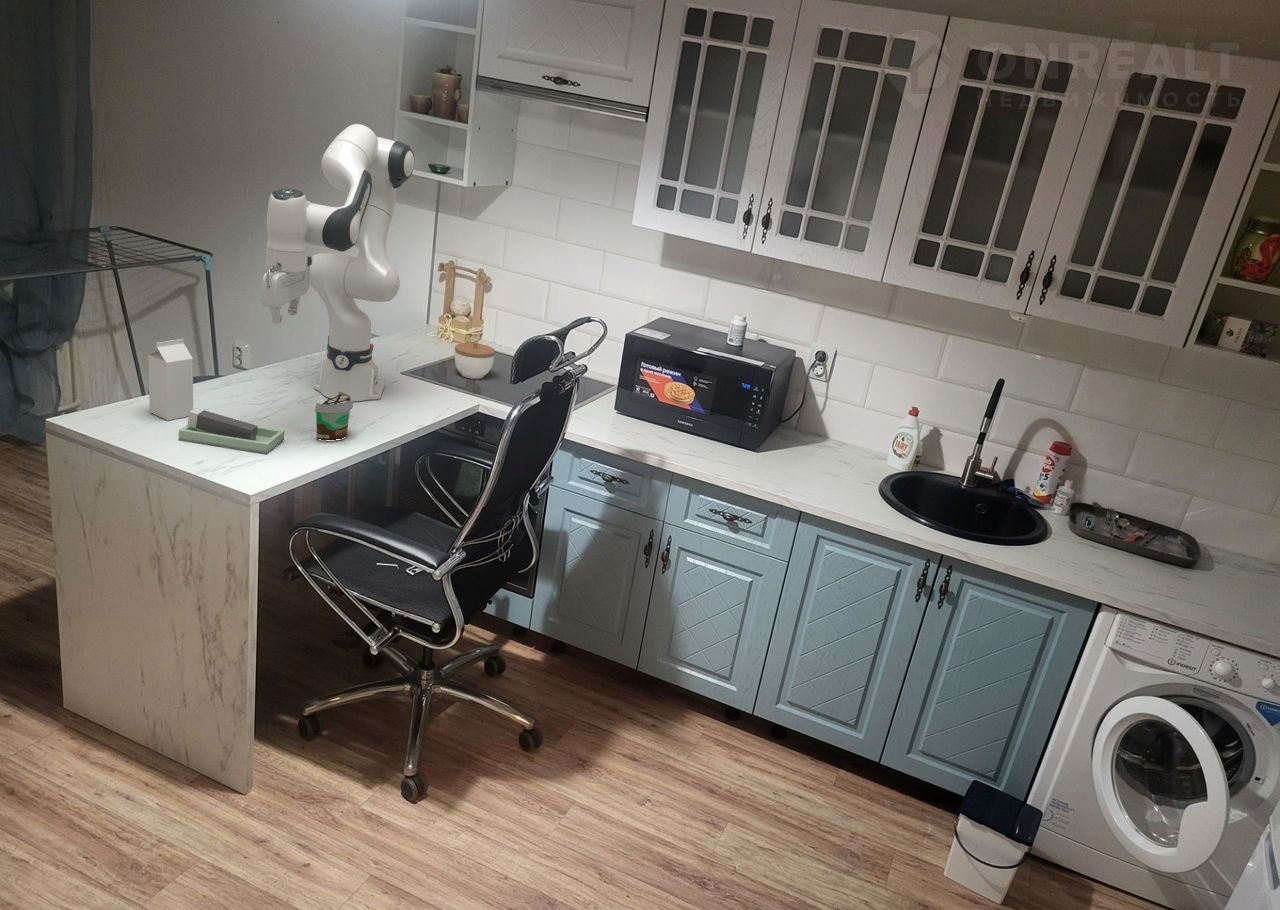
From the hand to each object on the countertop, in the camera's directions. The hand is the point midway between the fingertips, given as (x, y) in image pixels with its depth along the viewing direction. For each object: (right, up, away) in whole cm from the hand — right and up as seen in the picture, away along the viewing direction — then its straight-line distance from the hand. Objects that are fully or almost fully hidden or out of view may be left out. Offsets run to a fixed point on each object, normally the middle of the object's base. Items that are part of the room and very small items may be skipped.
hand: (284, 318), depth 228 cm
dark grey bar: (-15, -27, 0) cm, 31 cm away
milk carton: (-32, -23, +10) cm, 41 cm away
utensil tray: (-13, -29, +1) cm, 32 cm away
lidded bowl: (+31, -7, +79) cm, 85 cm away
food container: (+8, -28, +13) cm, 32 cm away
